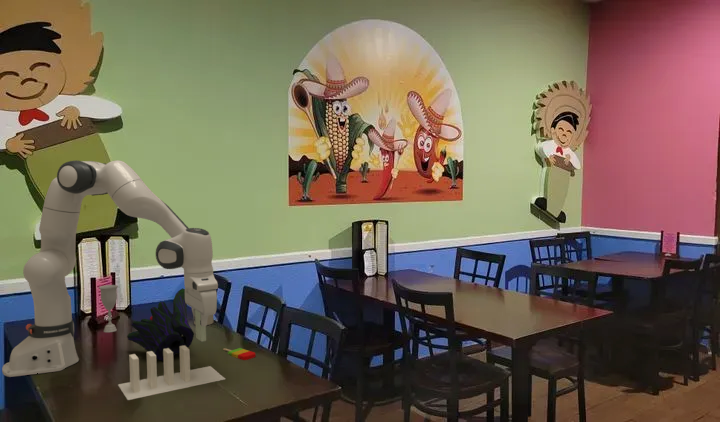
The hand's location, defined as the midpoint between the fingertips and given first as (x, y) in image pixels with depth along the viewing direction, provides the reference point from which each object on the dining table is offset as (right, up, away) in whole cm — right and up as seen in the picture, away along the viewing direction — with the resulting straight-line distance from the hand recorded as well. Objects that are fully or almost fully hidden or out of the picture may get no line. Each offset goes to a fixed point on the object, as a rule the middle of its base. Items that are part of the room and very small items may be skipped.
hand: (200, 323), depth 183 cm
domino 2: (-13, -18, -7) cm, 23 cm away
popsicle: (+7, -16, +24) cm, 29 cm away
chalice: (-51, -13, +53) cm, 74 cm away
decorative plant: (-21, -16, +27) cm, 38 cm away
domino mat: (-8, -18, -4) cm, 20 cm away
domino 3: (-9, -17, -4) cm, 20 cm away
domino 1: (-17, -18, -10) cm, 26 cm away
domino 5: (0, -5, 0) cm, 5 cm away
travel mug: (-16, -12, +63) cm, 66 cm away
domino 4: (-4, -17, -1) cm, 18 cm away
